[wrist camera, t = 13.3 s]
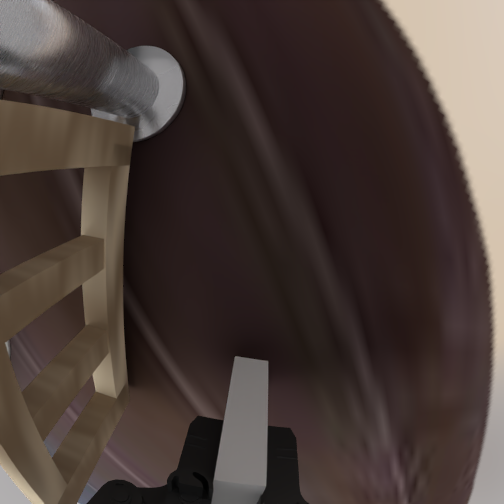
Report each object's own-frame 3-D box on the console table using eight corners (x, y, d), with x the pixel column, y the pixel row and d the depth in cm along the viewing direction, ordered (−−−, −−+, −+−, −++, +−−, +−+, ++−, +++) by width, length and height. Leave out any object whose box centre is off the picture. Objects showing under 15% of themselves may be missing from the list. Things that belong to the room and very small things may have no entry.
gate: (110, 125, 11) (-83, 105, 2) (135, 126, 11) (-63, 93, 2) (111, 394, 15) (41, 513, 6) (129, 399, 15) (65, 526, 6)
